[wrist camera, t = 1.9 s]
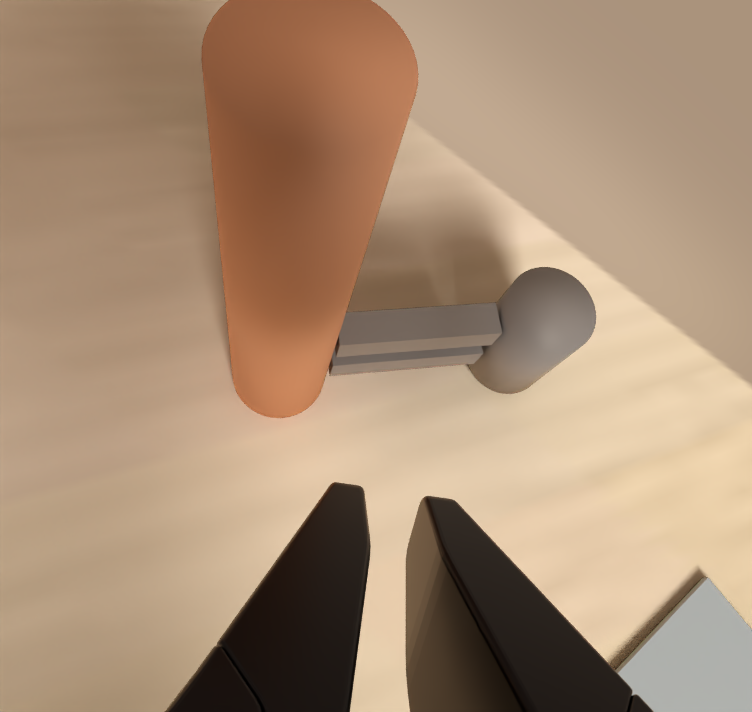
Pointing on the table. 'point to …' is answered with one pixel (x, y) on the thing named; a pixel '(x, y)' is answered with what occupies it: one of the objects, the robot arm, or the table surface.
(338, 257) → the orange grey t-shaped piece
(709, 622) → the card
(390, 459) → the table surface
